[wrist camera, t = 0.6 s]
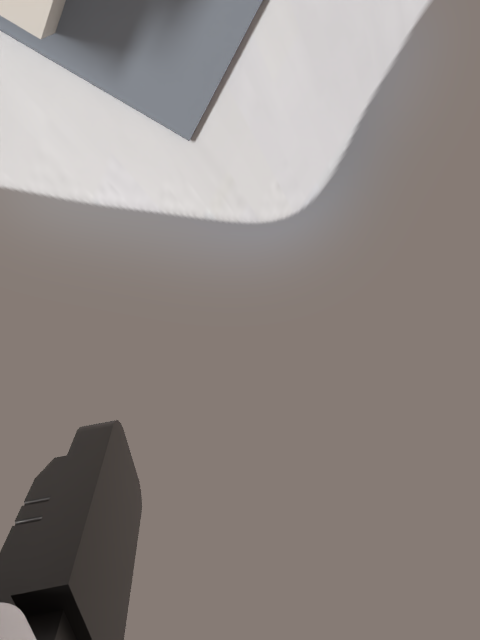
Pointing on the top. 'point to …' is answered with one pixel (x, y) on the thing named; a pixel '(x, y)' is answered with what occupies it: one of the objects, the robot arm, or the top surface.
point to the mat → (148, 51)
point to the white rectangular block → (33, 15)
